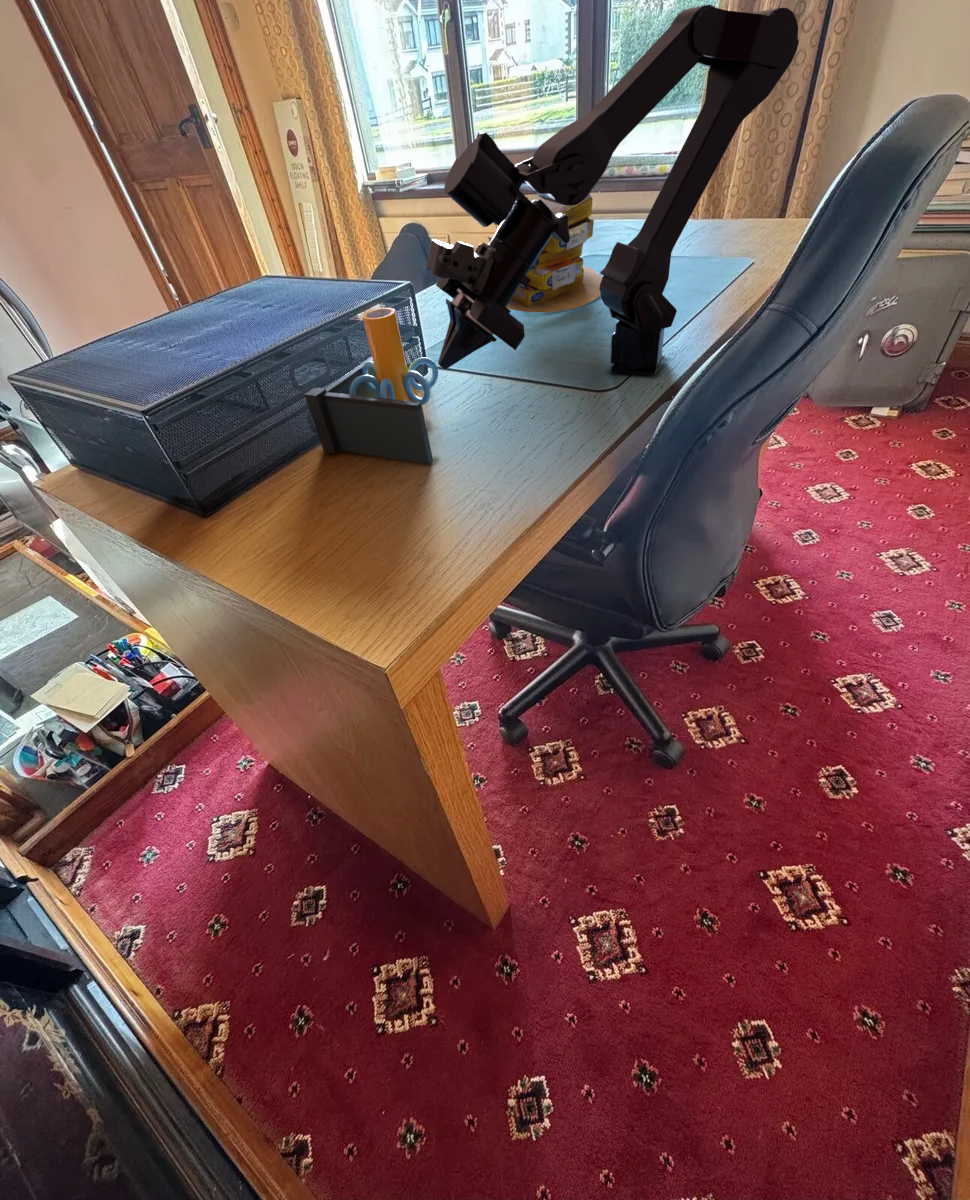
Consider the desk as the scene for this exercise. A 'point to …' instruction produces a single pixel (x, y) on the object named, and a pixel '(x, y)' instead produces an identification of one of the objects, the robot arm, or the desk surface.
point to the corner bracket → (368, 421)
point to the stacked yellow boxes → (561, 266)
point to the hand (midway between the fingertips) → (441, 366)
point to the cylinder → (391, 361)
